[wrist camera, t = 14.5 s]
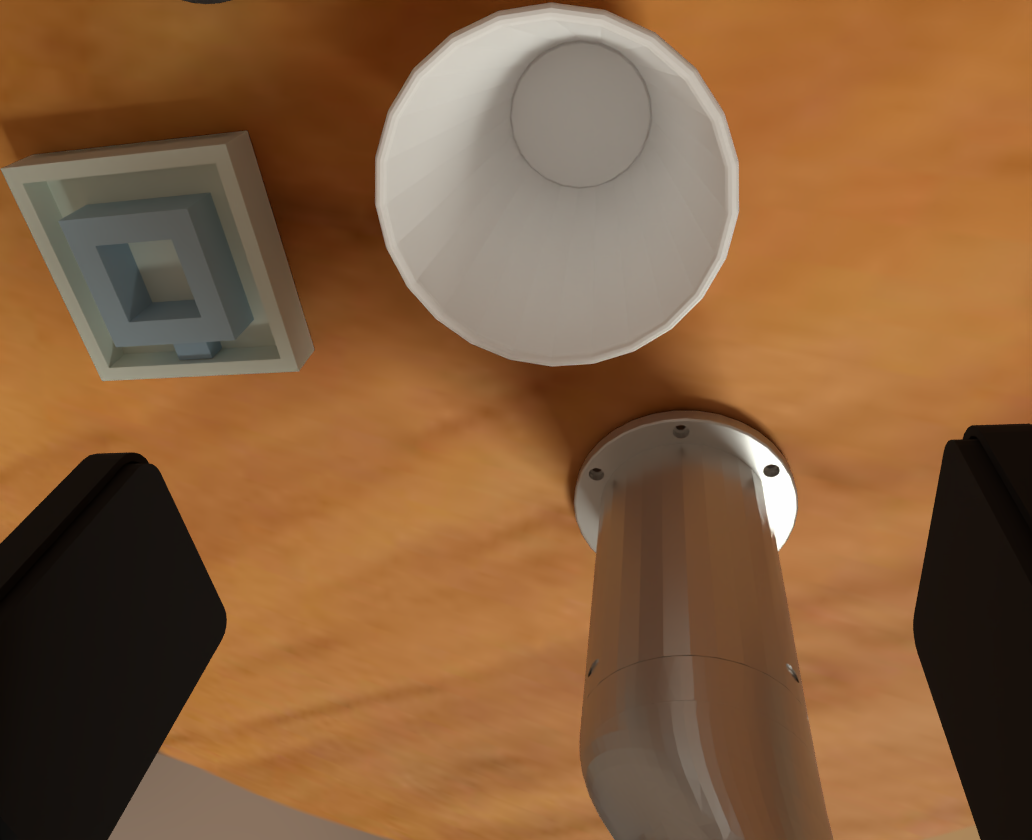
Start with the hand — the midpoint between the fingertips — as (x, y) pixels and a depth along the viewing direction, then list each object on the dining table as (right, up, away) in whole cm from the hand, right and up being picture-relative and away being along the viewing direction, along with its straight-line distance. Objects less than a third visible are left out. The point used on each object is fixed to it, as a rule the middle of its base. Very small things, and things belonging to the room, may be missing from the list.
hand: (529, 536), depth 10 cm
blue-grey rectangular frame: (-18, +10, +33) cm, 39 cm away
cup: (+3, +15, +27) cm, 31 cm away
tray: (-18, +10, +33) cm, 39 cm away
